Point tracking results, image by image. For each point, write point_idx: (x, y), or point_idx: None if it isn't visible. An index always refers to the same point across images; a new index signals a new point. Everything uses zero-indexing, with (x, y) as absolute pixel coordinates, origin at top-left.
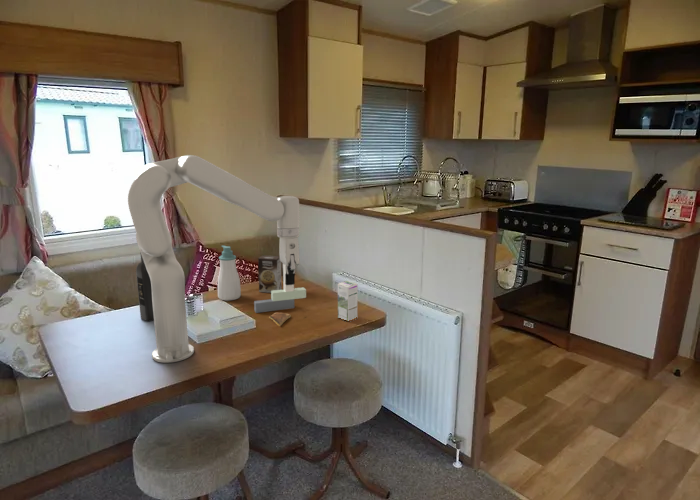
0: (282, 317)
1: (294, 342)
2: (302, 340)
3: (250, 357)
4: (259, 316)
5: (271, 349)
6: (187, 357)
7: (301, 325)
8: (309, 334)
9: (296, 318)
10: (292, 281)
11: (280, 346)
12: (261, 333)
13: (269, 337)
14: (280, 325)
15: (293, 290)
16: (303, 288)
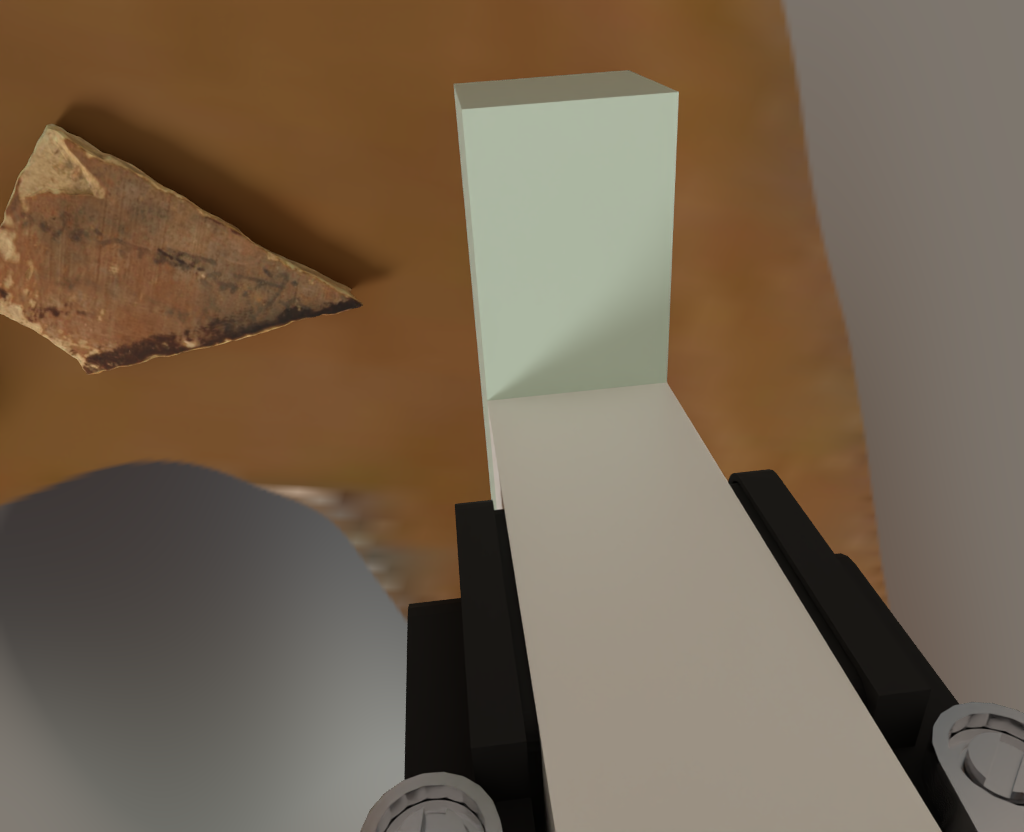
0: (161, 249)
1: (774, 220)
2: (768, 134)
3: (855, 548)
4: (31, 446)
5: (809, 417)
6: None
7: (371, 48)
8: (657, 17)
9: (121, 58)
10: (850, 571)
11: (792, 348)
12: (474, 459)
13: None
14: (346, 288)
15: (669, 396)
16: (556, 135)
